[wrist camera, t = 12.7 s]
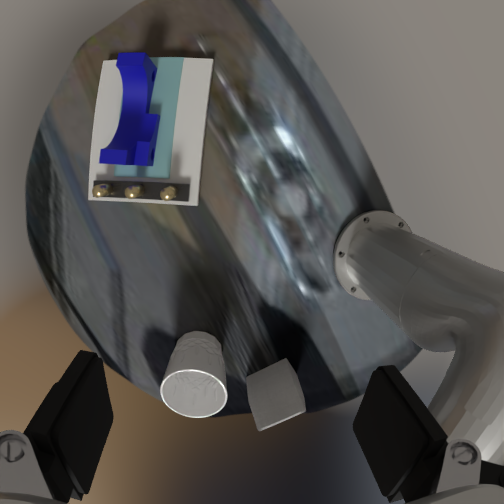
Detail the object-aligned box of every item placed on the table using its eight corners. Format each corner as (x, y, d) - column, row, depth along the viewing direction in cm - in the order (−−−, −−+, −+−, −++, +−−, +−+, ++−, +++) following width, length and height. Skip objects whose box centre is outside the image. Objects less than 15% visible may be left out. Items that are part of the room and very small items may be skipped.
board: (213, 62, 33) (213, 58, 31) (198, 204, 38) (197, 206, 36) (107, 64, 32) (102, 60, 30) (93, 198, 36) (87, 200, 35)
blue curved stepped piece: (153, 166, 34) (139, 166, 29) (117, 163, 34) (98, 163, 28) (169, 69, 31) (159, 52, 26) (134, 68, 31) (118, 53, 25)
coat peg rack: (190, 184, 35) (185, 186, 32) (189, 201, 36) (184, 205, 32) (96, 180, 34) (82, 182, 30) (95, 196, 35) (81, 199, 31)
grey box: (246, 376, 45) (251, 422, 35) (286, 357, 44) (299, 401, 35) (257, 391, 46) (264, 437, 36) (296, 373, 45) (310, 417, 36)
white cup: (179, 319, 42) (167, 360, 32) (233, 335, 43) (236, 379, 33) (166, 362, 43) (155, 407, 34) (217, 377, 45) (216, 423, 35)
